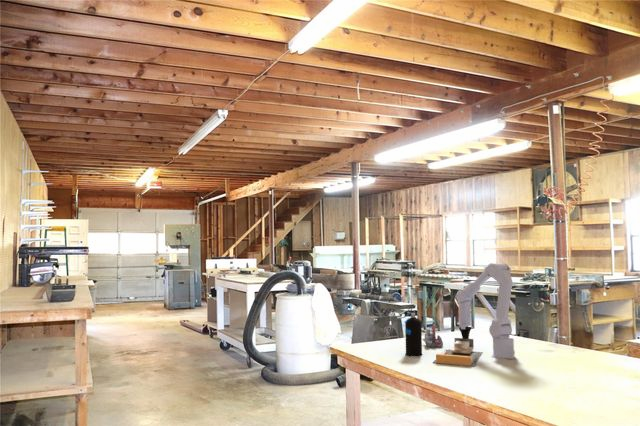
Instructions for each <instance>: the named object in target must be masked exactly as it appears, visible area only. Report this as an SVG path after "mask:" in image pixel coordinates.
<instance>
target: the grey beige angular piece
mask: <svg viewBox="0 0 640 426" xmlns="http://www.w3.org/2000/svg"><path fill="white" fill-rule="evenodd" d="M474 343H475V342H474V338H469V339H465V338H462V337H454V343H453V344H454V346H452V348H451V349H450V350H451V352H452V354H455V353H454V352H456V353H467V355H468V356H469V355H470V353H471V352H472V351H473V350H474V348H475V347H474V346H475V345H474Z"/></svg>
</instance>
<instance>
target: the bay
mask: <svg viewBox="0 0 640 426" xmlns="http://www.w3.org/2000/svg"><path fill="white" fill-rule="evenodd" d="M447 349H448V348H447ZM447 349H445V350H442V352H441V353H436V354H435V360H433V362H432V364H438V363H439V364H441V365H449V364H452V365H451V366H460V365H463V367H471V366H472V367H473V368H474V367H476V365H477V363H478V361H479V359H480V358H481V357H482V354H483V353H484V352H483V351H472V352H471V353H470V355H469V356H468V355H467V353H456V352H454V353H455V354H452V352H451V349H448V350H447Z"/></svg>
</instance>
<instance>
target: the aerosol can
mask: <svg viewBox="0 0 640 426" xmlns="http://www.w3.org/2000/svg"><path fill="white" fill-rule="evenodd" d="M422 323H423V322H422V321H421V320H420V319H419V318H417V317H416V312H411V313H410V317H408V318H407V319H406V320H405V321H404V324H405V330H404V331H405V356H407V357H412V356H414V357H421V356H424V355H423V347H422V345H423V343H422V342H423V338H422V337H423V335H422V332H423V331H422Z"/></svg>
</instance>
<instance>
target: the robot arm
mask: <svg viewBox="0 0 640 426" xmlns="http://www.w3.org/2000/svg"><path fill="white" fill-rule="evenodd" d="M511 271H512V270H511V268H510V266H509V265H508V263H506V262H496V263H494V262H492V263H489V264H488V265H487V266H486V267H485V268H484V270H483V271H482V273H481V274H480V275H479V276H477V278H476V279H475V280H472V281H469V282H467V285H466V286H465V287H463V288H462V290H458V291H457V293H456V296H455V298H456V301H457V302H458V320H459V321H458V322H457V323H456V325H458V326H460V327H458V329H459V331H460V334H461V338H465V339H470V338H469V337H470V333H471V330H472V316H471V315H472V314H471V313H472V311H471V305H472V301H473V298H474V296H475V295H476V294H477V293H478V292H480V290H481V286H482V285H483V284H485V282H487V281H488V280H489V279H491V278H493V279H494V280H495V281H496V282H497V283H498V284H499V286H498V296H497V301H496V310H495V317H494V318H493V319H492V320H491V324H490V326H489V331H488V332H489V334H490V336H491V338H492V343H493V344H492V353H493V354H492V355H491V358H496V359H497V358H499V359H509V360H513V359H514V357H515V355H516V353H515V352H516V351H515V342H514V341H515V340H514V338H510V335H511V334H512V332H513V329H512V321H511V320H510V319H509V312H510V305H511V296H512V295H511V294H512V287H513V278H512V275H511Z"/></svg>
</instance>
